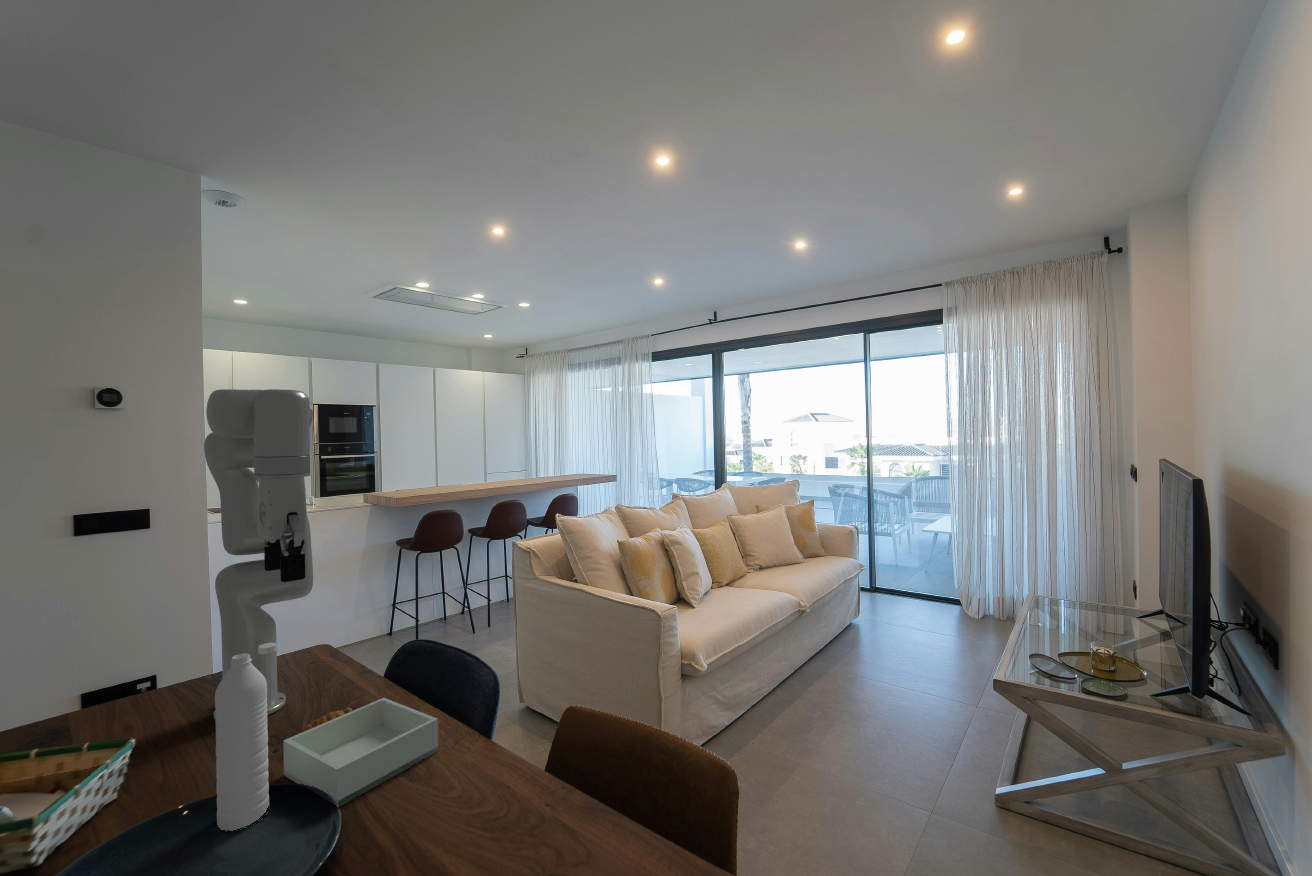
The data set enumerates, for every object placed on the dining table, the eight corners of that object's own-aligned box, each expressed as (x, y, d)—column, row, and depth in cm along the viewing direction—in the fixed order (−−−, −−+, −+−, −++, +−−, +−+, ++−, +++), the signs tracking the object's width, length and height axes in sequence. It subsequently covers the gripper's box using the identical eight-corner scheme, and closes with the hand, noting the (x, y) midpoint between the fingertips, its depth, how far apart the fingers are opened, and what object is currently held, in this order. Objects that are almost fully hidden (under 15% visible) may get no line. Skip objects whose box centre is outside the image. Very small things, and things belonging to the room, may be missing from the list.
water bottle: (238, 836, 84) (235, 665, 84) (206, 827, 86) (203, 660, 86) (292, 799, 92) (289, 644, 92) (262, 792, 94) (259, 640, 94)
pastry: (302, 749, 107) (302, 728, 107) (297, 735, 113) (297, 715, 113) (358, 732, 113) (357, 712, 113) (350, 719, 119) (350, 701, 119)
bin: (283, 775, 99) (283, 740, 99) (384, 727, 115) (384, 697, 115) (337, 807, 90) (336, 769, 90) (438, 751, 106) (437, 718, 106)
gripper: (242, 466, 95) (243, 569, 95) (268, 471, 83) (270, 590, 83) (294, 464, 100) (295, 561, 100) (326, 469, 88) (327, 580, 88)
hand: (284, 574), depth 92 cm, fingers open, 9 cm apart
